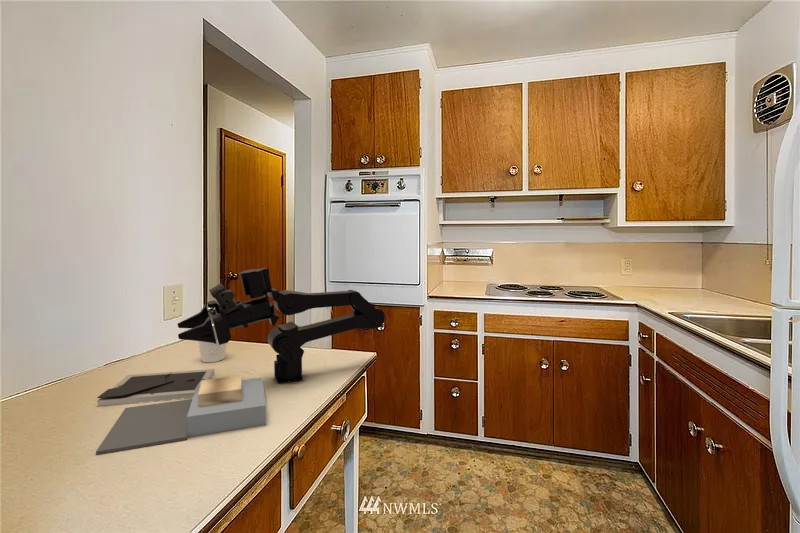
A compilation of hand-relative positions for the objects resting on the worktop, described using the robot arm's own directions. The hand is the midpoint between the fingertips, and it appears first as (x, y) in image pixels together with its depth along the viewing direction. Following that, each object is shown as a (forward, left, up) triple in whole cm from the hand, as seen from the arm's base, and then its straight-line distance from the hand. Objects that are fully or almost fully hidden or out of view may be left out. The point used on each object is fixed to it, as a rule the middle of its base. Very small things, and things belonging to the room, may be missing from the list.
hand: (178, 331), depth 90 cm
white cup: (-5, -27, -16) cm, 32 cm away
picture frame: (+5, -8, -17) cm, 19 cm away
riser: (-11, +13, -16) cm, 23 cm away
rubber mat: (+3, +13, -16) cm, 20 cm away
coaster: (-9, +13, -12) cm, 20 cm away
